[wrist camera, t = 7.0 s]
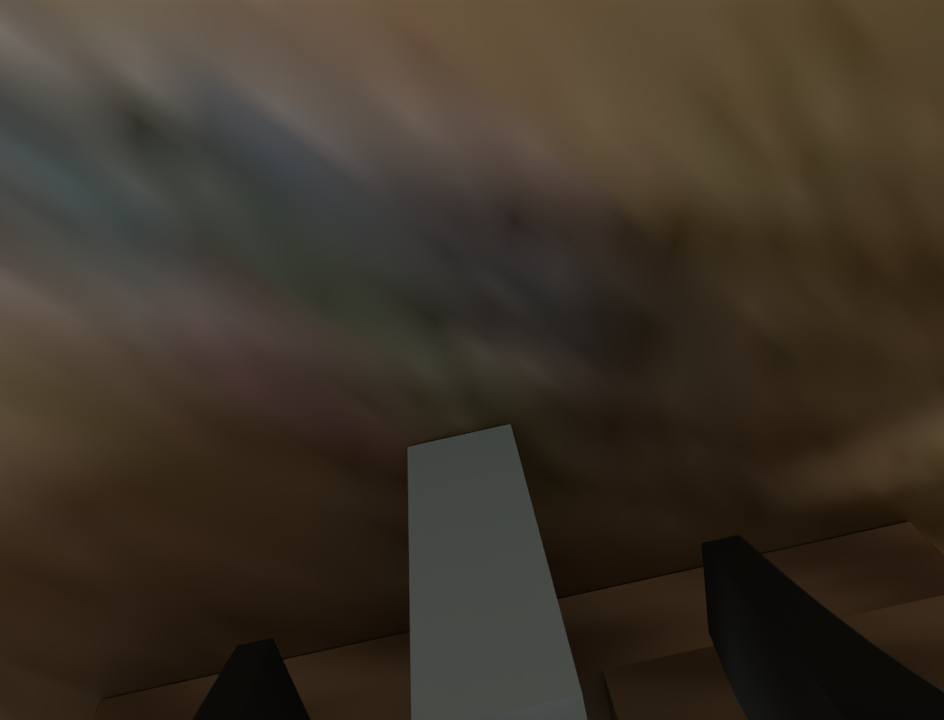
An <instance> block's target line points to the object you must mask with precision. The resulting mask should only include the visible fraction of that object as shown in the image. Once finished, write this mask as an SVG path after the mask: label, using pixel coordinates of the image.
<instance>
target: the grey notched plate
mask: <svg viewBox="0 0 944 720" xmlns="http://www.w3.org/2000/svg"><path fill="white" fill-rule="evenodd" d="M407 450H408V522H409V594H410V666H411V720H587V715H586V710H585V705H584V700H583V695H582V691H581V687H580V684H579V680H578V676H577V672H576V669H575V665H574V661H573V657H572V653H571V650H570V646H569V642H568V638H567V635H566V631H565V627H564V623H563V620H562V616H561V612H560V608H559V604H558V601H557V597H556V593H555V589H554V586H553V582H552V578H551V574H550V571H549V567H548V563H547V559H546V555H545V552H544V548H543V544H542V540H541V537H540V533H539V529H538V525H537V521H536V518H535V514H534V510H533V506H532V503H531V499H530V495H529V491H528V488H527V484H526V480H525V476H524V472H523V469H522V465H521V461H520V457H519V454H518V450H517V446H516V442H515V438H514V435H513V431H512V427H511V424H508V425H503V426H499V427H494V428H490V429H485V430H481V431H476V432H472V433H467V434H463V435H459V436H454V437H450V438H445V439H441V440H436V441H432V442H427V443H423V444H418V445H414V446H409V447H407Z"/></svg>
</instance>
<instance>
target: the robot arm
mask: <svg viewBox="0 0 944 720" xmlns="http://www.w3.org/2000/svg"><path fill="white" fill-rule="evenodd" d="M702 555H703V568H704V581H705V594H706V606H707V619H708V632H709V635H710V637H711V640H712V642H713V644H714V647H715V649H716V652H717V654H718V657H719V659H720V662H721V664H722V667H723V669H724V671H725V674H726V676H727V678H728V681H729V683H730V686H731V688H732V690H733V693H734V695H735V696H736V698H737V700H738V702H739V704H740V706H741V708H742V710H743V711H744V713H745V715H746V717H747V719H748V720H944V692H943V691H941V690H940V689H938V688H937V687H935V686H934V685H932V684H931V683H929V682H928V681H926V680H925V679H923V678H922V677H920V676H919V675H917V674H916V673H914V672H913V671H911V670H910V669H908V668H907V667H906V666H904V665H903V664H901V663H900V662H898V661H897V660H896V659H894V658H893V657H891V656H890V655H888V654H887V653H886V652H884V651H883V650H881V649H880V648H879V647H877V646H876V645H874V644H873V643H872V642H870V641H869V640H868V639H866V638H865V637H864V636H862V635H861V634H859V633H858V632H857V631H856V630H854V629H853V628H852V627H850V626H849V625H848V624H846V623H845V622H844V621H843V620H841V619H840V618H839V617H837V616H836V615H835V614H834V613H832V612H831V611H830V610H828V609H827V608H826V607H824V606H823V605H822V604H821V603H819V602H818V601H817V600H816V599H814V598H813V597H812V596H811V595H809V594H808V593H807V592H806V591H805V590H803V589H802V588H801V587H800V586H799V585H797V584H796V583H795V582H794V581H792V580H791V579H790V578H789V577H788V576H786V575H785V574H784V573H783V572H782V571H781V570H779V569H778V568H777V567H776V566H775V565H774V564H772V563H771V562H770V561H769V560H768V559H767V558H766V557H764V556H763V555H762V554H761V553H760V552H759V551H758V550H756V549H755V548H754V547H753V546H752V545H751V544H750V543H748V542H747V541H746V540H745V539H744V538H742V537H740V536H739V535H737V536H732V537H728V538H723V539H719V540H714V541H710V542H705V543H702ZM192 720H310V717H309V715H308V713H307V711H306V709H305V707H304V704H303V702H302V700H301V698H300V696H299V694H298V691H297V689H296V687H295V685H294V683H293V681H292V678H291V676H290V674H289V672H288V670H287V668H286V666H285V663H284V661H283V659H282V657H281V655H280V653H279V650H278V648H277V646H276V644H275V642H274V640H273V638H271V639H267V640H262V641H257V642H253V643H248V644H244V645H239V646H237V647H236V648H235V650H234V651H233V653H232V654H231V656H230V658H229V659H228V661H227V662H226V664H225V666H224V667H223V669H222V671H221V672H220V674H219V676H218V677H217V679H216V681H215V682H214V684H213V685H212V687H211V689H210V690H209V692H208V694H207V695H206V697H205V699H204V700H203V702H202V704H201V705H200V707H199V709H198V710H197V712H196V714H195V715H194V717H193V718H192Z"/></svg>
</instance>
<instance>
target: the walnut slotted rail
mask: <svg viewBox="0 0 944 720" xmlns="http://www.w3.org/2000/svg"><path fill="white" fill-rule="evenodd" d="M762 555H763V556H764V557H766V558H767V559H768V560H769V561H770V562H771V563H772V564H774V565H775V566H776V567H777V568H778V569H779V570H781V571H782V572H783V573H784V574H785V575H786V576H788V577H789V578H790V579H791V580H792V581H794V582H795V583H796V584H797V585H799V586H800V587H801V588H802V589H803V590H805V591H806V592H807V593H808V594H809V595H811V596H812V597H813V598H814V599H816V600H817V601H818V602H819V603H821V604H822V605H823V606H824V607H826V608H827V609H828V610H830V611H831V612H832V613H834V614H835V615H836V616H837V617H839V618H840V619H841V620H843V621H844V622H845V623H846V624H848V625H849V626H850V627H852V628H853V629H854V630H856V631H857V632H858V633H859V634H861V635H862V636H864V637H865V638H866V639H868V640H869V641H870V642H872V643H873V644H874V645H876V646H877V647H879V648H880V649H881V650H883V651H884V652H886V653H887V654H888V655H890V656H891V657H893V658H894V659H896V660H897V661H898V662H900V663H901V664H903V665H904V666H906V667H907V668H908V669H910V670H911V671H913V672H914V673H916V674H917V675H919V676H920V677H922V678H923V679H925V680H926V681H928V682H929V683H931V684H932V685H934V686H935V687H937V688H938V689H940V690H941V691H943V692H944V555H943V554H942V553H941V552H940V551H939V550H938V549H937V548H936V547H935V546H934V545H933V544H932V543H931V542H930V541H929V540H928V539H927V538H926V537H925V536H924V535H923V534H922V533H921V532H920V531H919V530H918V529H917V528H916V527H915V526H914V525H913V524H912V523H911V522H910V521H909V522H905V523H900V524H896V525H891V526H886V527H882V528H877V529H873V530H868V531H864V532H859V533H855V534H850V535H846V536H841V537H837V538H832V539H828V540H823V541H819V542H814V543H809V544H805V545H800V546H796V547H791V548H787V549H782V550H778V551H773V552H769V553H764V554H762ZM557 601H558V604H559V608H560V612H561V616H562V620H563V623H564V627H565V631H566V635H567V638H568V642H569V646H570V650H571V653H572V657H573V661H574V665H575V669H576V672H577V676H578V680H579V684H580V687H581V691H582V695H583V700H584V705H585V710H586V715H587V720H748V719H747V717H746V715H745V713H744V711H743V710H742V708H741V706H740V704H739V702H738V700H737V698H736V696H735V695H734V693H733V690H732V688H731V686H730V683H729V681H728V678H727V676H726V674H725V671H724V669H723V667H722V664H721V662H720V659H719V657H718V654H717V652H716V649H715V647H714V644H713V642H712V640H711V637H710V635H709V632H708V619H707V606H706V594H705V581H704V568H703V567H701V568H696V569H692V570H687V571H683V572H678V573H674V574H669V575H665V576H660V577H656V578H651V579H646V580H642V581H637V582H633V583H628V584H624V585H619V586H615V587H610V588H606V589H601V590H597V591H592V592H588V593H583V594H579V595H574V596H569V597H565V598H560V599H557ZM283 661H284V663H285V666H286V668H287V670H288V672H289V674H290V676H291V678H292V681H293V683H294V685H295V687H296V689H297V691H298V694H299V696H300V698H301V700H302V702H303V704H304V707H305V709H306V711H307V713H308V715H309V717H310V720H411V666H410V632H406V633H402V634H397V635H393V636H388V637H384V638H379V639H375V640H370V641H366V642H361V643H357V644H352V645H348V646H343V647H339V648H334V649H329V650H325V651H320V652H316V653H311V654H307V655H302V656H298V657H293V658H289V659H284V660H283ZM218 676H219V674H216V675H212V676H207V677H203V678H198V679H194V680H189V681H185V682H180V683H176V684H171V685H166V686H162V687H157V688H153V689H148V690H144V691H139V692H135V693H130V694H126V695H121V696H117V697H112V698H108V699H103V700H101V702H100V704H99V707H98V709H97V711H96V714H95V716H94V718H93V720H192V718H193V717H194V715H195V714H196V712H197V710H198V709H199V707H200V705H201V704H202V702H203V700H204V699H205V697H206V695H207V694H208V692H209V690H210V689H211V687H212V685H213V684H214V682H215V681H216V679H217V677H218Z"/></svg>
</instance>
